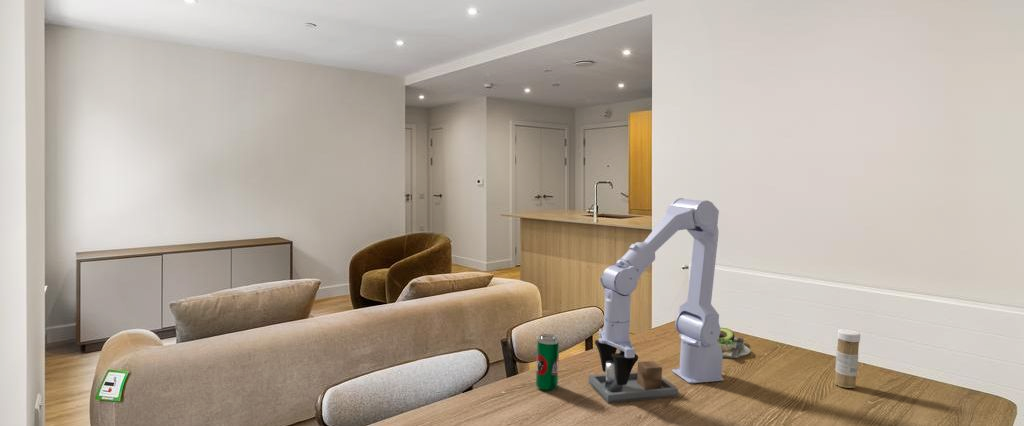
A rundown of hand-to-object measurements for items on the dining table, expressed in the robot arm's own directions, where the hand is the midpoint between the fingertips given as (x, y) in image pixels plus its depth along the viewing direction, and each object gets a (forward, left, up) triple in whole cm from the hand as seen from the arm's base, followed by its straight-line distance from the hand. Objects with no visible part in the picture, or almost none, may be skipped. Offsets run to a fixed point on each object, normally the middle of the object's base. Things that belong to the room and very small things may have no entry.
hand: (614, 377), depth 120 cm
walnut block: (-9, 0, -3) cm, 9 cm away
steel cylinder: (0, 0, -3) cm, 3 cm away
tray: (-4, 0, -3) cm, 6 cm away
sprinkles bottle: (-56, +8, -3) cm, 57 cm away
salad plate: (-42, -22, -4) cm, 48 cm away
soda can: (+14, -5, -3) cm, 16 cm away
